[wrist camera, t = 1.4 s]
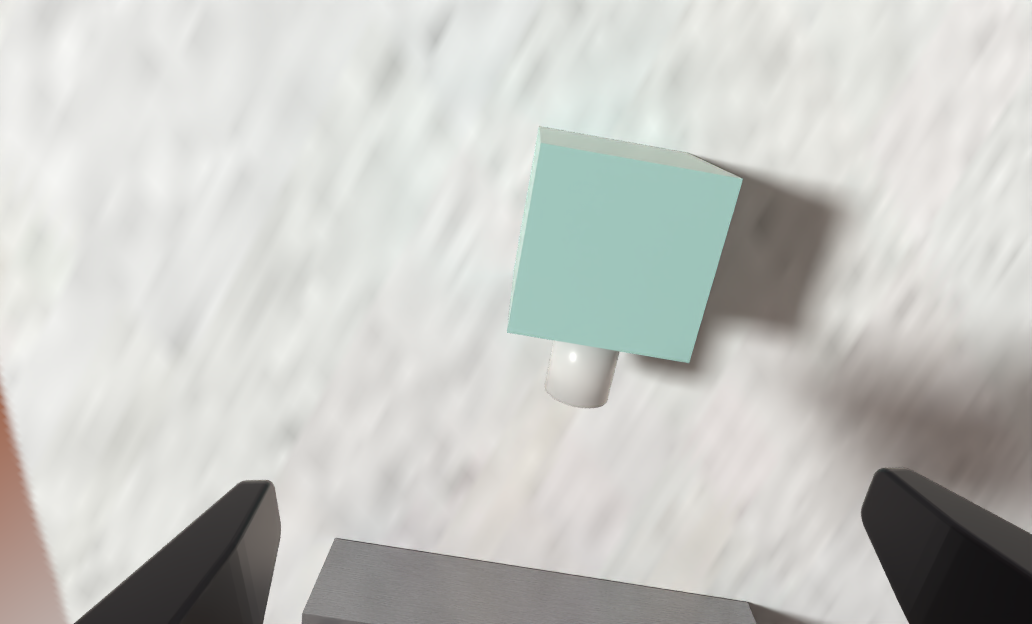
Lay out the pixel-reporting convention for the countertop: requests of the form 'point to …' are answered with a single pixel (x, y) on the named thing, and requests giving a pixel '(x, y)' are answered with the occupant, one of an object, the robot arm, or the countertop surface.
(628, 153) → the mint green box
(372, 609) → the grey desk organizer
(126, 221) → the countertop surface
